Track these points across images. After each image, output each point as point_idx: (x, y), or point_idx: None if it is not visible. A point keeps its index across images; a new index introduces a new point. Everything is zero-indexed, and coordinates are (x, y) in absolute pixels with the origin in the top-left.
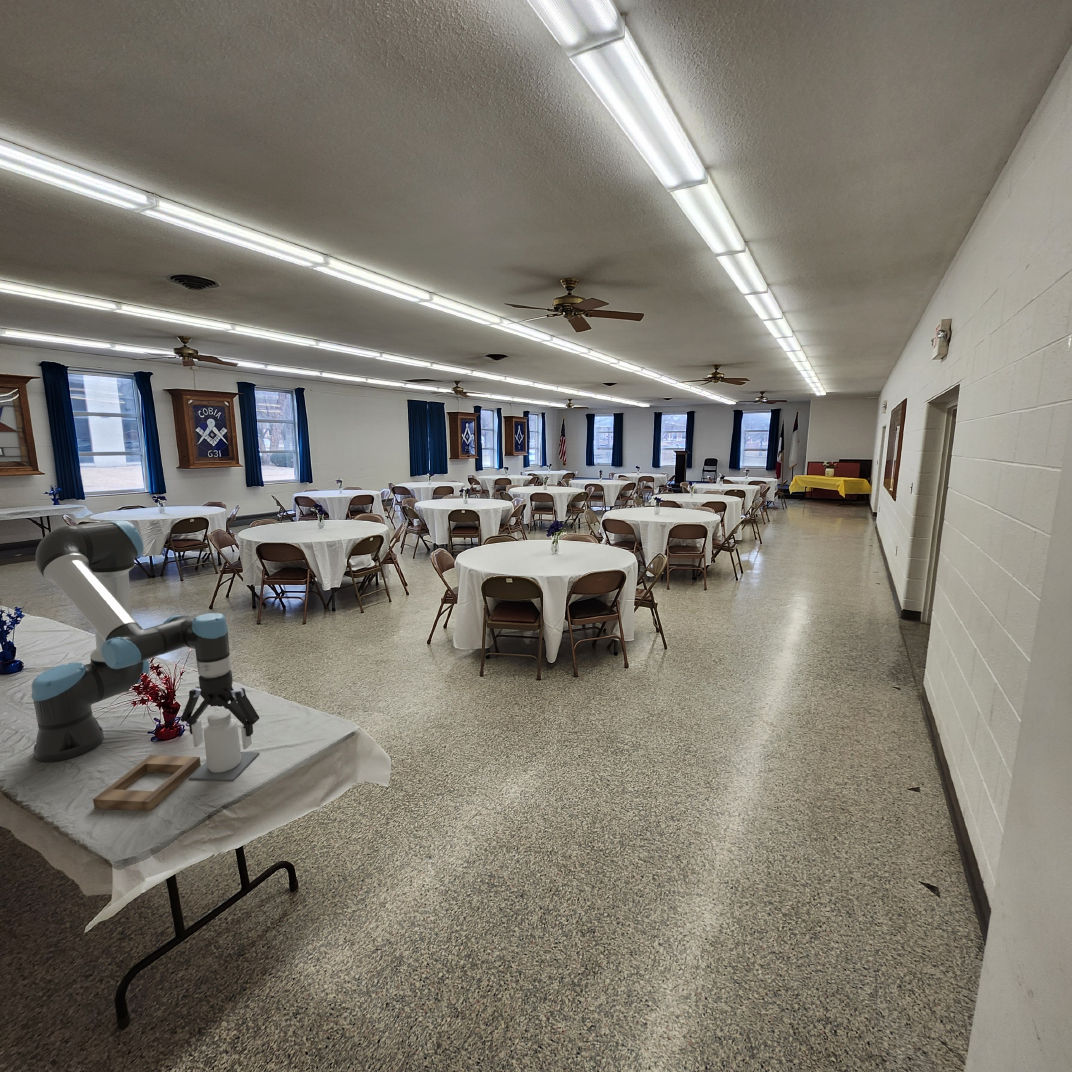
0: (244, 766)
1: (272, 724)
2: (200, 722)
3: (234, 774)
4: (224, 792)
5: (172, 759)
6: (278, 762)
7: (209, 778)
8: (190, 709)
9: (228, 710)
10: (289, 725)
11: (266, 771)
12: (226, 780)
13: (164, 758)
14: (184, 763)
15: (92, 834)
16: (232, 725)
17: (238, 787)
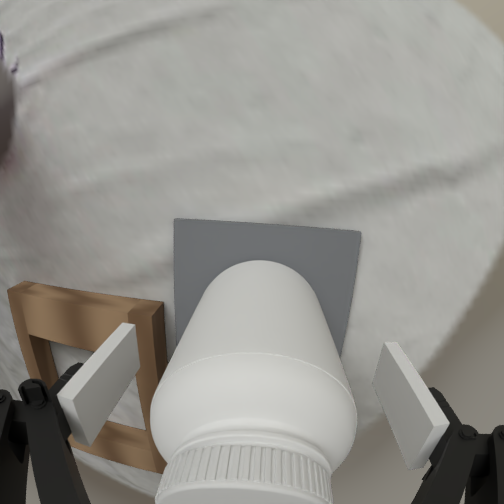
0: (343, 325)
1: (299, 8)
2: (81, 395)
3: None
4: None
5: (74, 322)
6: (441, 284)
7: None
8: (19, 497)
9: (296, 494)
10: (376, 23)
11: (417, 333)
12: None
13: (49, 314)
14: None
15: (130, 481)
16: (343, 456)
17: (358, 402)
